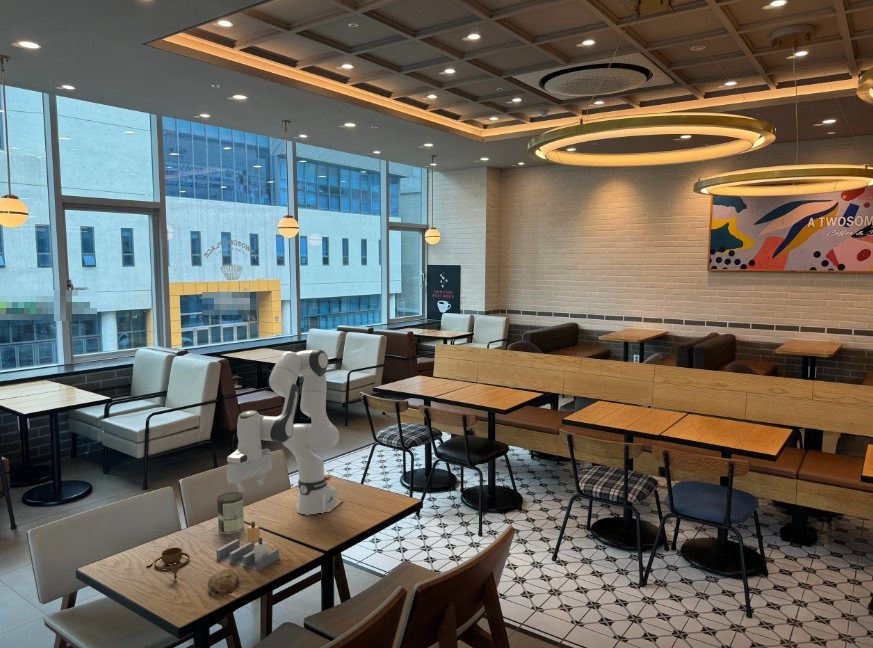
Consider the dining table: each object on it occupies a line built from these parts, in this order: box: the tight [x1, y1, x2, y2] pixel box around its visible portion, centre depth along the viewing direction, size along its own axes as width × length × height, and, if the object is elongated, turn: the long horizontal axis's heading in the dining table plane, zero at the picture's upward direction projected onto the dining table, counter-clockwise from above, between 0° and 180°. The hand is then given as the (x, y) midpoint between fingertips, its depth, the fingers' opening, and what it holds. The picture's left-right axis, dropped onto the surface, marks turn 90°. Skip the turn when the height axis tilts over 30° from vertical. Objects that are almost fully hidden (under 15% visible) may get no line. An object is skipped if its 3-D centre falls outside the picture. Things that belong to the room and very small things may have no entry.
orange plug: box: [246, 520, 261, 545], centre depth 239 cm, size 3×4×9 cm
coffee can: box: [216, 491, 245, 535], centre depth 253 cm, size 10×10×14 cm
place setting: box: [154, 547, 191, 580], centre depth 221 cm, size 18×20×6 cm
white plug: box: [253, 536, 269, 563], centre depth 221 cm, size 3×4×9 cm
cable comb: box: [215, 539, 280, 571], centre depth 225 cm, size 10×21×4 cm, turn 63°
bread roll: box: [207, 568, 240, 596], centre depth 205 cm, size 10×10×8 cm
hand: (251, 488), depth 238 cm, fingers open, 8 cm apart
